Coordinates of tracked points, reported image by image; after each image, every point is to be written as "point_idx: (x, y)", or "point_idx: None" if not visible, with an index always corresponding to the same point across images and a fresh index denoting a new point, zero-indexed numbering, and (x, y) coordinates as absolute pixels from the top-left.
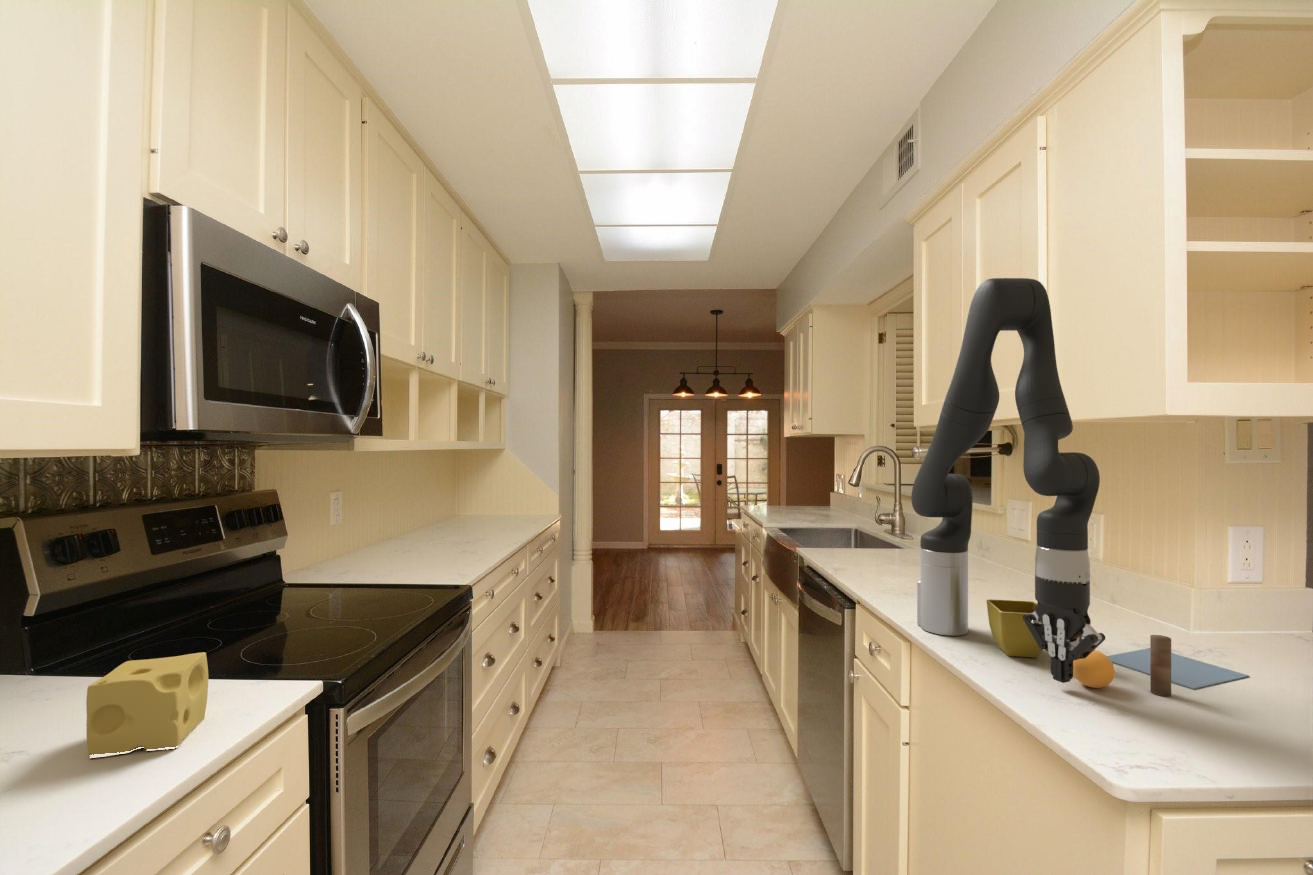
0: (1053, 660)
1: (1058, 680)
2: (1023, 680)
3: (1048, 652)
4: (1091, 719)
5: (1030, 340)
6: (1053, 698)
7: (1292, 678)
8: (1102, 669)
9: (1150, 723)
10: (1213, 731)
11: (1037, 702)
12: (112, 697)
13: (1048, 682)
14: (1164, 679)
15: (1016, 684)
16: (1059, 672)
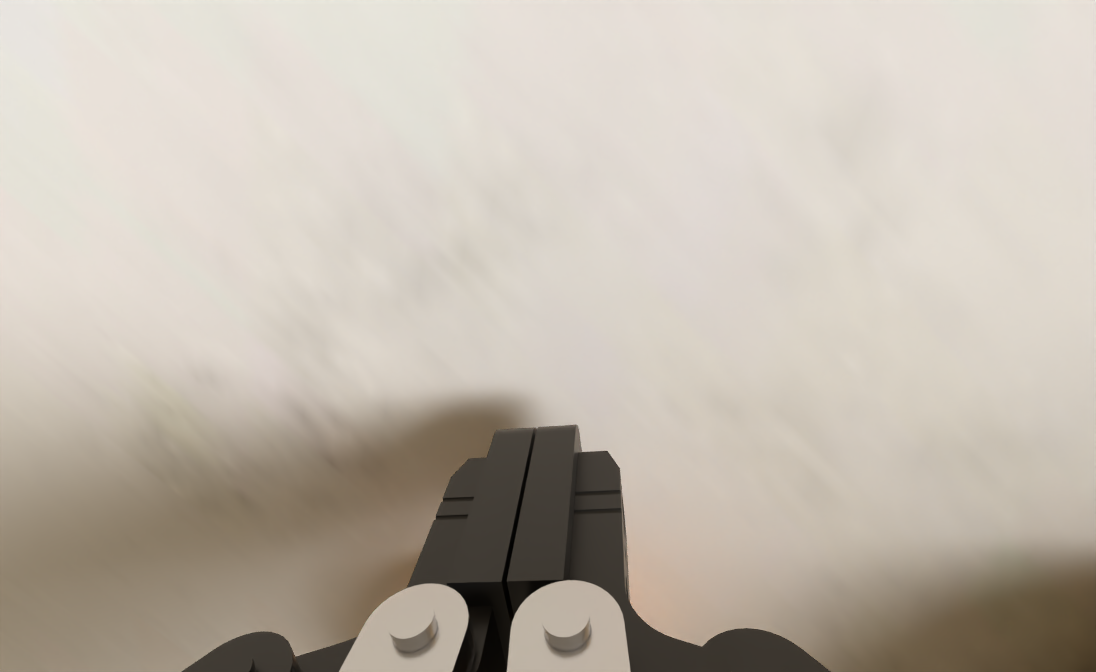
0: (555, 550)
1: (525, 428)
2: (803, 293)
3: (620, 616)
4: (52, 191)
5: None
6: (421, 230)
7: None
8: None
9: (48, 481)
10: (4, 641)
11: (360, 6)
12: None
13: (693, 444)
14: None
15: (759, 153)
16: (495, 473)
